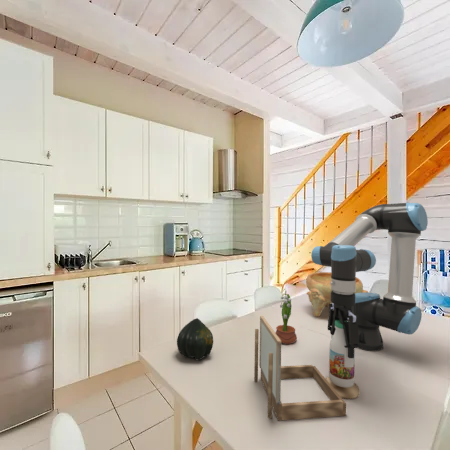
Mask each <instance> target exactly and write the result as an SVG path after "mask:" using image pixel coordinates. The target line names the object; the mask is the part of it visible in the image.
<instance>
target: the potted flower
mask: <svg viewBox="0 0 450 450" xmlns="http://www.w3.org/2000/svg"><path fill="white" fill-rule="evenodd" d="M284 291H285V293H284ZM281 295H282V296H281V297H280V300H283V302H281V304H280V305H279V308H281V316H282V323H283V324H280V325H277V326H276V328H275V329H276V331H274V332H275V333H276V335H277V336H278V337H279V339H280V340H281V344H285V345H289V344H293V343H295V342H296V341H297V338H298V337H297V334H296V328H295V327H294V326H292V325H288V321H289V319H290V317H291V315H292V298H291V296H290V294H288V293H287V290H286V288H284V289H283V290H282V294H281Z"/></svg>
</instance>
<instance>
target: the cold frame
mask: <svg viewBox="0 0 450 450" xmlns="http://www.w3.org/2000/svg"><path fill="white" fill-rule="evenodd" d="M307 378H309V379H310V378H312V379H314V381H315V382H316V384H317V385H319V387H320V388H321V389H322V391H323V392H324V394H325V395H326V396H327V398H329V399H328V400H313V401H300V402H299V401H298V402H297V401H296V402H285V403H282V400H280V405H277V404H276V401H275V399H274V396H273V394H272V410H273V411H274V414H275V416H276V419H277V420H278V421H289V420H302V419H303V420H304V419H320V418H329V417H330V418H331V417H344V416H345V417H346V416H347V402H345V399H342V398H341V397H340V395H339V394H338V393H337V392H336V391H335V389H334V388H333V387H332V386H331V385H330V384H329V382H328V381H327V380H326V379H325V378H326V377H325V376H324V375H323V374H322V373H321V372H320V371H319V369H318V368H317V367H316V366H315V365H313V364H301V365H298V364H297V365H281V380H293V379H307ZM260 380H261V383H262V385H263V387H264V388H263V389H264V390H265V392H266V395H267V396H268V383H267V381H266V379H265V377H264V374H263V372H262V370H261V369H260Z"/></svg>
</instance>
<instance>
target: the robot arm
mask: <svg viewBox="0 0 450 450" xmlns="http://www.w3.org/2000/svg"><path fill="white" fill-rule="evenodd" d="M427 228H428V215H427V212H426V209H425V207H424V206H423V205H422V204H421V203H418V202H401V203H399V202H398V203H381V204H377V205H375V206H372V207H370V208H368V209H366V210H364V211H362V212H360V213H359V214H358V215H357V216H356V217H355V220H354V221H353V222H352V223H351V224H350V225H348V226H347V227H346V228H345V229H344V230H342V231H341V232H340V233H339V234H337V236H335V237H334V238H333V239H332V240H330V241H329V242H327V244H325V245H324V246H322V245H320V246H318V245H316V246H315V247H314V248H312V250H311V255H310V256H311V261H312V262H313V264H315V265H319V266H322V267H331V270H330V271H331V282H330V284H331V289H332V290H333V291H331V302H332V303H329V307H328V310H329V311H328V318H327V319H328V320H327V330H328V331H329V333H330V337H331V339H332V337H333V335H334V333H335V330H336V328H335V321H336V320H340V321H341V324H342V325H343V330H344V335H345V341H346V346H344V347H345V353H344V366H345V367H354V351H355V349H360V350H365V351H370V352H371V351H372V352H377V351H382V350H383V349H384V344H385V343H384V340H383V336H382V333H381V330H380V327H381V328H385V329H388V330H392V331H394V332H397V333H400V334H405V335H413V334H415V332H416V331H417V330H418V329H419V326H420V325H421V321H422V317H423V316H422V313H423V312H422V309H421V307H419V306H417V301H416V300H415V298H414V297H413V288H414V287H413V286H414V274H415V273H414V272H415V271H414V270H415V259H416V244H417V241H416V240H417V239H418V238H419V237H420V236H422V235H421V234H422V232H424V231H426V230H427ZM377 230H378V231H379V230H382V231H383V230H385V231H386V230H387V234H388V236H390V237H391V242H390V243H391V244H390V257H389V259H390V260H389V269H388V285H387V286H388V287H387V292H386V293H385V294H384V295H383V296H382V297H383V298H381V296H380V294H379V293H376V292H369V293H355V294H354V292H356V275H357V273H359V272H366V271H369V270H372V269H373V268H374V267H375V266H376V264H377V258H376V255H375V254H374V253H373V252H372V251H371V250H368V249H363V248H361V249H356V245H358V243H360V242H361V240H362V239H364V238H365V237H366V236H367V235H368V234H372V233H374V232H375V231H377ZM344 321H348V322H344ZM331 339H330V340H331Z"/></svg>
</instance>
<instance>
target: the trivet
mask: <svg viewBox="0 0 450 450" xmlns="http://www.w3.org/2000/svg"><path fill="white" fill-rule="evenodd" d="M324 378H325V379H326V380H327V381H328V382H329V384H330V385H331V386H332V387H333V388H334V389H335V391H336V392H337V393H338V394H339V395H340V397H341V398H342V399H343V400H355V399H357V398H359V397H360V395H361V394H360V392H361V391H360V390H361V389H360V387H359V386H358V385H357V383H355V382H354V385H353V386H352V387H348V388H345V387H340V386H337V385H335V384H333V383H332V382H331V381H330V379H329V376H327V377H324Z"/></svg>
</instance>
